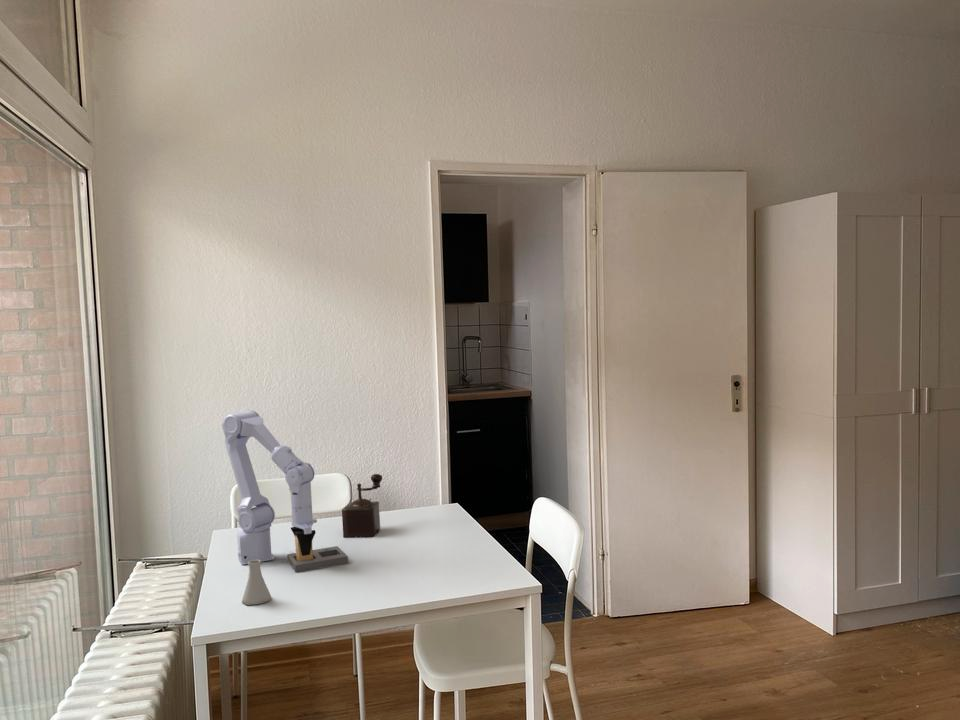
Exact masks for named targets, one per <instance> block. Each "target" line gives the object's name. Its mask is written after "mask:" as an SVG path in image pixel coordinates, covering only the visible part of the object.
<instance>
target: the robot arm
mask: <svg viewBox="0 0 960 720" xmlns="http://www.w3.org/2000/svg"><path fill="white" fill-rule="evenodd" d="M221 427H222V430H223V434H224V443H225V444H224V445H225V448H226V451H227V455H228V458H229V461H230V465H231V467H232V470H233V475H234V478H235V481H236V484H237V487H238V491H239V493H240V495H239V496H240V498H241V502H240V504H239V505H238V506H237V508H236V510H237V513H238V515H237V517H238V519H237V520H238V521H237V522H238V525H239V527H240V528H241V529H242V531H238V532H237V557H238V560H239V562H240V564H241V566H243V565H244V566H245V565H248V562H249V561H251V560H261V563H262V562H267V561H274V560H276V559H275V556H274V554H273V553H272V542H271V541H272V540H271V527H272V523H273V522H274V521H275V517H276V514H275V513H276V512H275V509H274V508H273V506H271V504H270V501H269V499H268V498H267V497H266V496H265V495H262V494H261V492H260V489H259V485H258V482H257V479H256V475H255V472H254V468H253V464H252V462H251V458H250V455H249V451H248V448H247V445H246V444H247V443H248V441H249V439H250V438H252V437H253V438H254V439H255V440H257V441H258V442H259V444H261V445H262V446H263V447H264V448H265V449H266V451H267V450H268V452H269V453H271V461H272V462H273V463H274V464H275V465H276V466H277V467H278V468H279V469H280V471H281V472H282V473H284V475H285V476H284V478H285V482H286V484H287V485H288V490H289V492H290V501H291V502H290V503H291V504H290V505H291V520H292V521H291V526H292V527H290V530H291V532H292V533H293V535H294V537H295V535H296V536H297V538H298V541H299V544H300V550H301V553H302V556H305V555H310V551H311V545H312V546H313V539H314V537H315V535H316V533H317V532H316V530H315V529H313V530H312V526H313V525H314V524H316V523H317V522H318V519H316V518H313V502H312V500H313V499H312V484H311V483H312V482H313V480H314V478H315V469H314V468H313V466H312V464H311V463H309V462H304V460H301V458H299V457H298V456H297V455H296V454H295V452H293V451H292V450H293V449H292V448H291V446H287V445H281V444H280V442H279V441H278V440H277V439H276V438H275V437H274V435H273V434H272V433H271V432H270V431H271V430H269V429H268V428H267V427H266V425H265V424H264V417H262V416H260V414H259V412H257V411H256V410H254V409H253V410H248V411H242V412H236V413H230V414H227V415H226V416H225V418H224V419H223V421H222V424H221Z"/></svg>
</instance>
